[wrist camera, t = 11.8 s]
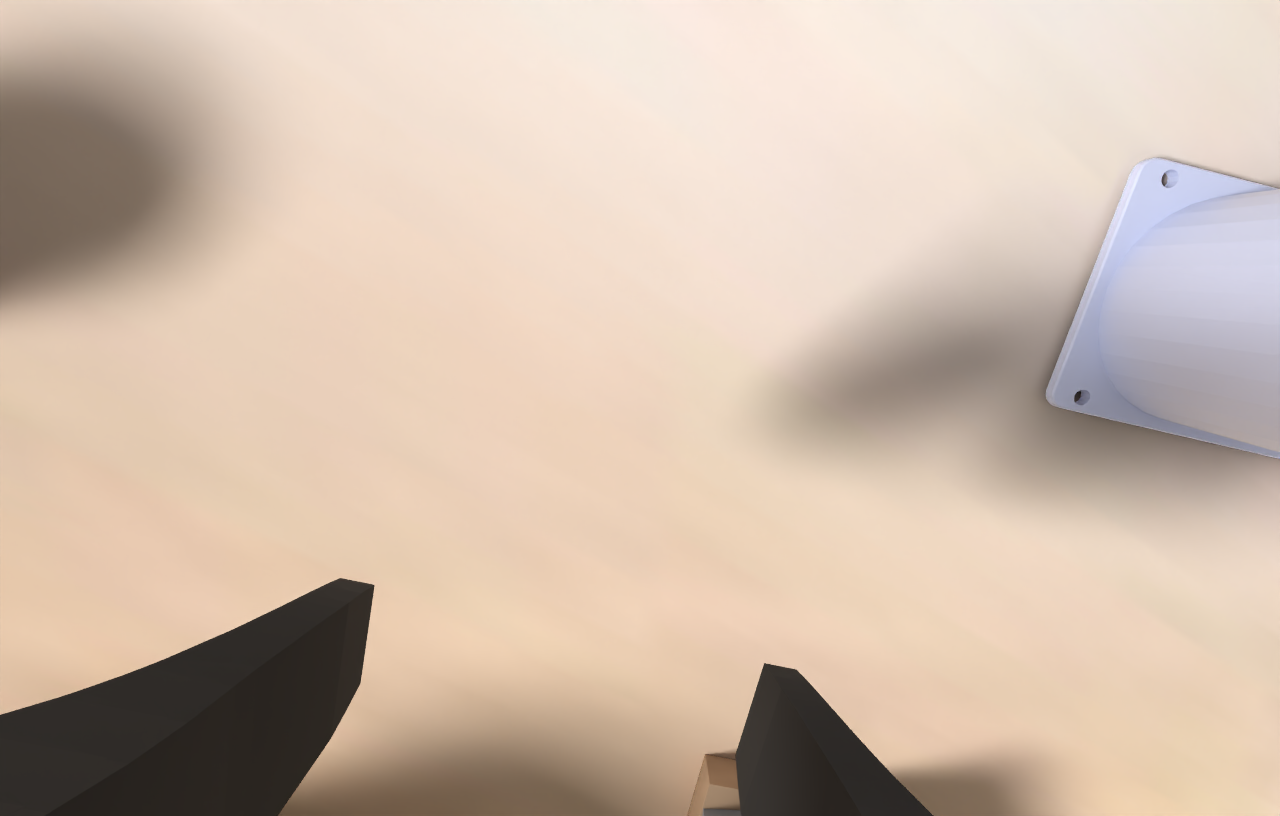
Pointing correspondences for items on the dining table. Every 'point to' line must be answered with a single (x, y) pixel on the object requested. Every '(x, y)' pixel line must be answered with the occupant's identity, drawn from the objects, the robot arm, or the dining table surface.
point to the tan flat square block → (716, 786)
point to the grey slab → (721, 812)
